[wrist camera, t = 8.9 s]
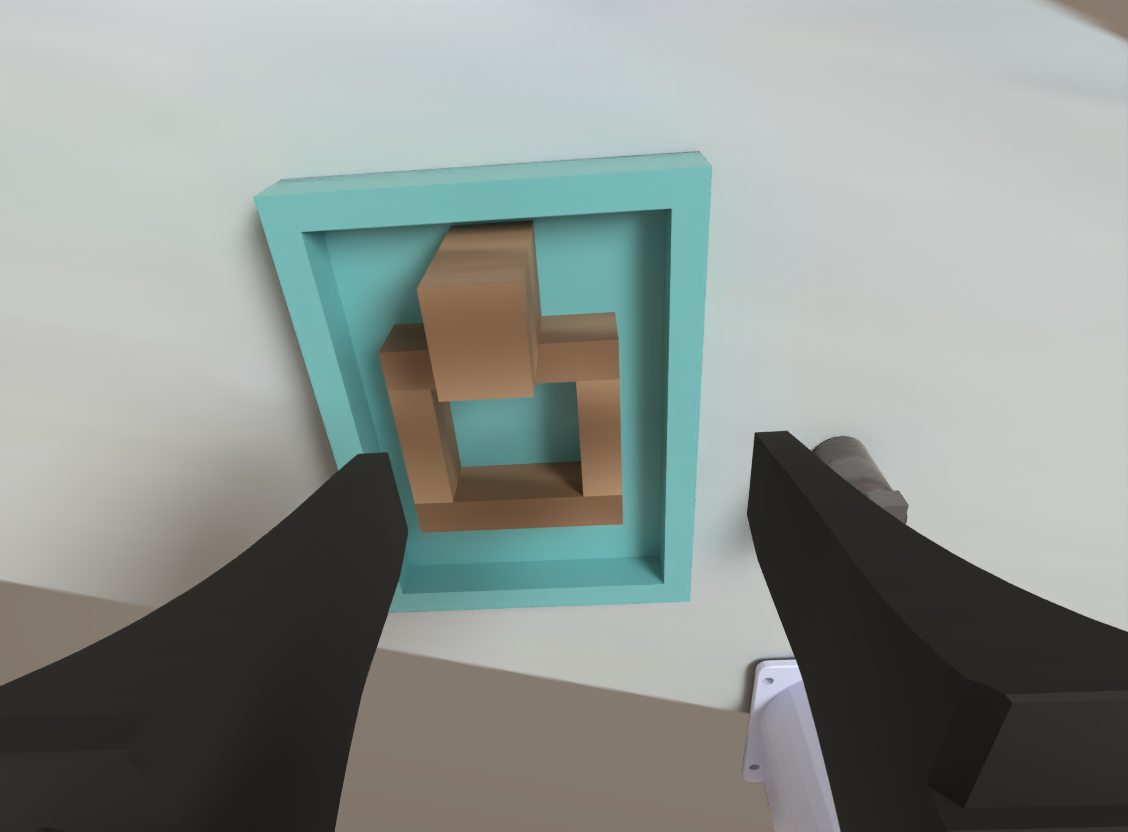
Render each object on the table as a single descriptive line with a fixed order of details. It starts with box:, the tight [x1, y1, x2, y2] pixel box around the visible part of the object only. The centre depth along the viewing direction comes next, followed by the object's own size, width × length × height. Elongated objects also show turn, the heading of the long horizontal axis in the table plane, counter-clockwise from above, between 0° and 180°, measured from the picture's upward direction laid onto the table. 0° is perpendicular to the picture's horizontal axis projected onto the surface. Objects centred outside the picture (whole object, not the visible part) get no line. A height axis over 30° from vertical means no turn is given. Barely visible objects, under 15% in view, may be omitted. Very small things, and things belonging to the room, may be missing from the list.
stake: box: [813, 436, 909, 524], centre depth 22 cm, size 3×2×4 cm
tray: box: [254, 151, 712, 613], centre depth 22 cm, size 16×12×2 cm
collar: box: [379, 220, 623, 533], centre depth 20 cm, size 10×7×5 cm
